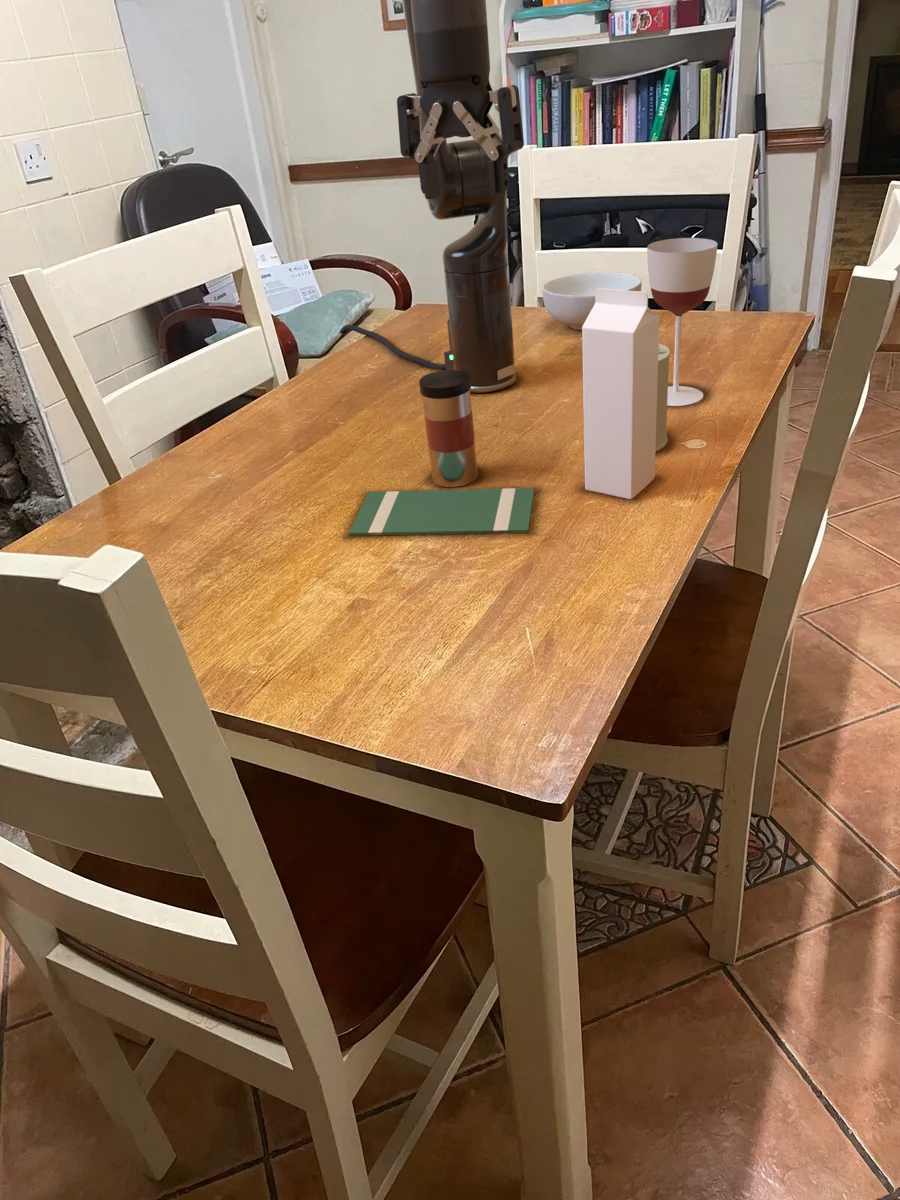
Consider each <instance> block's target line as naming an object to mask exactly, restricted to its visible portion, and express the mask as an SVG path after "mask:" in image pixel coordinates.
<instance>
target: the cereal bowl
mask: <svg viewBox="0 0 900 1200" xmlns="http://www.w3.org/2000/svg"><path fill="white" fill-rule="evenodd" d="M598 288H601V289H615V290H628V291H641V292H642V279H641V278H640V277H638V276H637V275H634V274H630V273H626V272H618V271H593V272H592V271H591V272H582V273H574V274H570V275H564V276H561V277H557V278H554V279H551V280H549V281H547V282H545V283H543V286H542V288H541V291H542V301H543V305H544V308H545V310H546V312H547V313H548V314H549V315H550V316H551V318H553V319H554V320H556V321H558V322H560V323H563V324H566V325H568V326H569V327H570V328H571V329H574V330H578V331H582V326H583V325H584V323H585V321H586V319H587V317H588V315H589V314H590V312H591V310H592V308H593V306H594V304H595V291H596V289H598Z"/></svg>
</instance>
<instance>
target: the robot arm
mask: <svg viewBox="0 0 900 1200" xmlns="http://www.w3.org/2000/svg"><path fill="white" fill-rule="evenodd" d="M402 6H403V13H404V20H405V26H406V27H405V28H406V34H407V38H408V45H409V51H410V57H411V64H412V71H413V76H414V78H413V79H414V85H415V93H414V92H412V93H405V94H402V95H398V97H397V98H396V109H397V120H398V121H397V122H398V134H399V135H398V136H399V148H400V154H401V156H402V157H404V158H410V159H413V160H415V161H416V163H417V165H418V175H419V183H420V184H419V185H420V190H421V193H422V194H423V195H424V198H425V199H426V202H427V205H428V209H429V211H430V213H431V215H432V217H434V218H435V219H437V220H439V221H441V220H442V221H443V220H445V221H446V220H453V219H459V218H465V217H471V216H478V218H477V221H476V223H475V224H474V225H473V226H472V228H471V229H470V230H469V231H467V233H465V234H463V235H462V236H461V237H459V238H457V239H456V240H454V241H452V242H451V243H449V244H448V245H447V246H446V247H444V249H443V252H442V263H443V272H444V282H445V291H446V301H447V311H448V318H447V321H446V325H447V337H448V345H449V350H446V351H443V355H444V363H442V364H438V363H435V362H431V361H429V360H427V359H425V358H422V357H419V356H416V355H413V354H410V353H408V352H406V351H404V350H402V349H400V348H398V347H397V346H395V345H394V344H393V343H392V342H391V341H389V339H387V338H386V337H384V336H382V335H381V334H378V333H376V332H374V331H371V330H368V329H365V328H362V327H360V326H357V325H355V324H345V325H344V326H342V327H341V328H340V330H339V334H341V335H343V334H346V332H347V331H353V332H356V333H358V334H360V335H363V336H368V337H370V338H373V339H375V340H376V341H378V342H381V343H382V344H383V345H384V346H385V347H387V349H389V350H390V351H391V352H392V353H393V354H395V355H397V356H399V357H401V358H402V359H405V360H407V361H410V362H413V363H416V364H419V365H421V366H423V367H426V368H429V369H434V370H438V371H443V370H459V371H464V372H467V373H468V374H469V375H470V381H471V389H470V393H476V394H479V393H480V394H481V393H492V392H497V391H501V390H504V389H507V388H509V387H511V386H513V384H515V382H516V381H517V375H516V374H517V373H516V369H515V367H516V366H515V350H514V334H513V333H514V331H513V315H512V301H511V299H512V298H511V284H510V269H509V255H508V253H509V251H508V248H509V247H508V246H509V245H508V244H509V236H508V235H509V233H508V206H507V205H508V204H507V203H508V198H507V197H508V196H507V195H508V194H507V192H508V190H509V187H510V177H509V157H510V156H511V154H514V153H515V152H518V151H520V150H522V149H523V148H524V145H525V141H524V130H523V120H522V119H523V118H522V110H521V109H522V108H521V100H520V99H521V98H520V89H519V87H518V86H517V85H516V84H512V85H507V86H503V87H500V88H498V89H493V88H492V85H491V82H490V71H491V61H490V60H491V59H490V58H491V57H490V45H489V43H490V42H489V29H488V28H489V27H488V14H487V0H402ZM493 105H494V109H495V110H496V111H497V112H498V114H499V115H498V116H499V123H500V128H499V126H498V125H497V124H496V122H495V121H494V119H493V117H492V116H491V115H490V112H491V108H492V106H493ZM500 132H501V133H500ZM454 137H458V138H469V137H472V139H468V140H461V141H453V142H447V139H450V138H454Z"/></svg>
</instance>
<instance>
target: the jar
mask: <svg viewBox="0 0 900 1200" xmlns="http://www.w3.org/2000/svg"><path fill="white" fill-rule="evenodd" d="M418 381H419V382H418V383H419V384H418V385H419V392H420V395H421V397H422V405H423V414H424V424H425V431H426V439H427V446H428V454H429V463H430V469H431V470H430V471H431V479H432V481H433V483H434V484H436V485H437V486H439V487H444V488H457V487H462V486H466V485H469V484H471V483H473V482H474V481H476V480H477V478H478V475H479V473H478V472H479V471H478V462H477V452H476V451H477V449H476V437H475V428H474V427H475V426H474V416H473V415H474V413H473V408H472V396H471V392H470V389H471V381H470V375H469V374H468V373H467V372H464V371H459V370H436V371H433V372H431V373H430V372H429V373H427V374H425V375H423V376H421V378H420V379H419V380H418Z"/></svg>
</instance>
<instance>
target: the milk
mask: <svg viewBox="0 0 900 1200" xmlns="http://www.w3.org/2000/svg"><path fill="white" fill-rule="evenodd" d="M581 339H582V340H581V341H582V342H581V343H582V391H583V392H582V393H583V394H582V397H583V399H582V400H583V402H582V403H583V441H584V442H583V445H584V446H583V449H584V450H583V453H584V489H585V491H590V492H595V493H600V494H604V495H609V496H611V497H612V496H613V497H618V498H622V499H627V500H633V499H634V498H635V497H636V496H637V495H638V494H639V493H640V492H641V491H642V490H644V489H645V488H646V487H647V486H648V485H649V484H650V483H652V481H654V480H655V477H656V452H655V449H656V416H657V383H658V350H659V343H660V315H659V314H658V313H656V312H655V311H653V310H652V309H651V308H650V307H649V294H648V292H647V291H642V290H641V291H628V290H615V289H601V288H598V289H596V291H595V304H594V306H593V308H592V310H591V312H590V314H589V315H588V317H587V319H586V321H585V323H584V325H583V326H582V330H581Z"/></svg>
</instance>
